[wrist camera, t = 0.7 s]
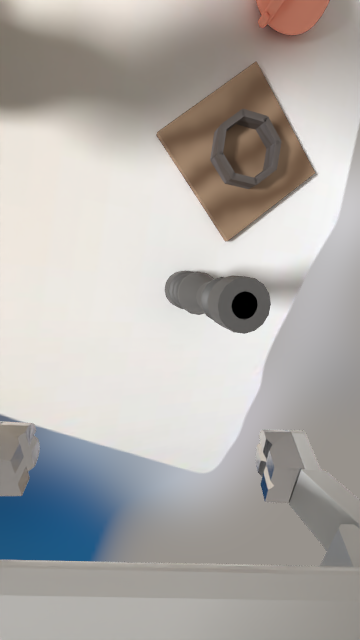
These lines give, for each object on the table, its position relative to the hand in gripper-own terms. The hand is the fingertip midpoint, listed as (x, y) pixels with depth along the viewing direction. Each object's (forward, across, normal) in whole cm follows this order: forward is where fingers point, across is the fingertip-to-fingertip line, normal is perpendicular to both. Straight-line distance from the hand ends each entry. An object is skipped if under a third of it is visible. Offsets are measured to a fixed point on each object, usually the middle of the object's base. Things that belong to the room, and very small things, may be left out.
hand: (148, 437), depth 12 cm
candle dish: (+54, -11, -7) cm, 55 cm away
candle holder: (+44, -2, +14) cm, 46 cm away
